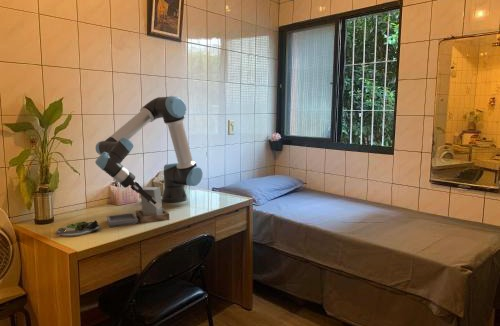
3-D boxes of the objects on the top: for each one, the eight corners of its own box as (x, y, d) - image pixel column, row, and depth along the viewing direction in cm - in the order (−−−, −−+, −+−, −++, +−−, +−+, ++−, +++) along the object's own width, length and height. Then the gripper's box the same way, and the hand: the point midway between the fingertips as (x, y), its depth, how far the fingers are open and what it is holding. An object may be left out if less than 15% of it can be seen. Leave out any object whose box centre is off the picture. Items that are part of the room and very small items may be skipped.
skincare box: (163, 216, 195) (161, 186, 193) (156, 220, 188) (154, 189, 186) (148, 215, 197) (147, 186, 195) (141, 219, 190) (139, 188, 188)
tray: (133, 217, 194) (133, 212, 193) (138, 223, 182) (137, 218, 182) (107, 220, 188) (106, 215, 188) (109, 227, 176) (109, 222, 176)
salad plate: (63, 242, 158) (62, 231, 157) (46, 233, 170) (45, 223, 169) (106, 231, 172) (106, 221, 172) (88, 224, 184) (87, 215, 183)
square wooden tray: (163, 213, 202) (162, 207, 202) (169, 219, 189) (169, 213, 189) (136, 216, 196) (135, 210, 195) (140, 223, 183) (140, 217, 183)
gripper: (116, 179, 193) (148, 206, 202) (122, 186, 173) (157, 215, 182) (126, 168, 195) (158, 195, 204) (133, 174, 175) (168, 203, 184)
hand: (157, 204), depth 193 cm, fingers closed on skincare box, 10 cm apart
